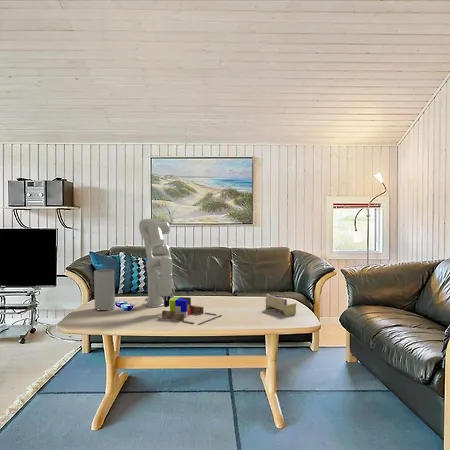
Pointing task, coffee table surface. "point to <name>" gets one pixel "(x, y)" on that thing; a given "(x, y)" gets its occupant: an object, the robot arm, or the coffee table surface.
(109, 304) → the grey rounded tower
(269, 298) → the toy sofa
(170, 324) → the coffee table surface
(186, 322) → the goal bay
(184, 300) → the puzzle toy
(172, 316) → the chute
